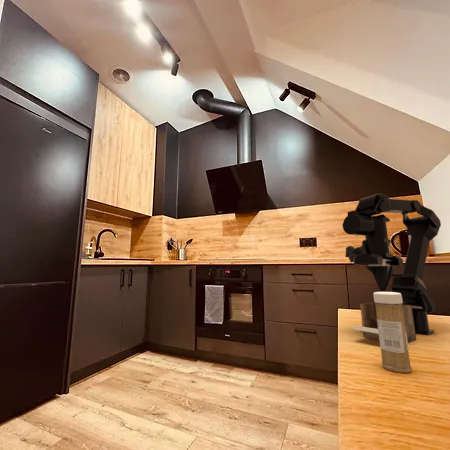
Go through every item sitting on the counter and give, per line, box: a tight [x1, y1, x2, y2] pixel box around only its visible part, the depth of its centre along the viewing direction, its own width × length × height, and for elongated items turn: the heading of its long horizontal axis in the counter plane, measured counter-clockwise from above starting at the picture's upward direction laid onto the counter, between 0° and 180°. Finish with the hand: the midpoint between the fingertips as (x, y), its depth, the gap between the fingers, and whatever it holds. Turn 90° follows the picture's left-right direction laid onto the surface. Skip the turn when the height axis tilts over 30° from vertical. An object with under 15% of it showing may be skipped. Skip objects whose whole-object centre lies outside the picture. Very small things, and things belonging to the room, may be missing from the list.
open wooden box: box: [359, 301, 417, 344], centre depth 66 cm, size 8×10×8 cm
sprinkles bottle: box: [373, 291, 413, 374], centre depth 46 cm, size 5×5×13 cm
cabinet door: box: [352, 325, 379, 335], centre depth 62 cm, size 1×8×7 cm
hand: (382, 291), depth 70 cm, fingers closed
